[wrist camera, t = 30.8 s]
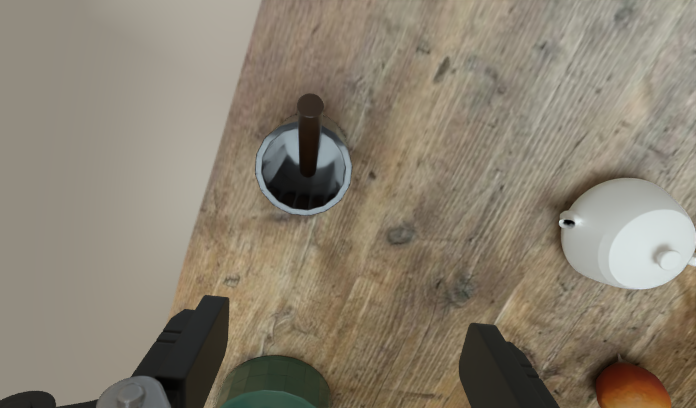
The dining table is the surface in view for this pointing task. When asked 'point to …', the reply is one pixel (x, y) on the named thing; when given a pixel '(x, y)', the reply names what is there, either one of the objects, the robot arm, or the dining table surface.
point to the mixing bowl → (274, 385)
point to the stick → (309, 132)
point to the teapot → (628, 234)
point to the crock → (284, 175)
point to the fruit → (630, 387)
